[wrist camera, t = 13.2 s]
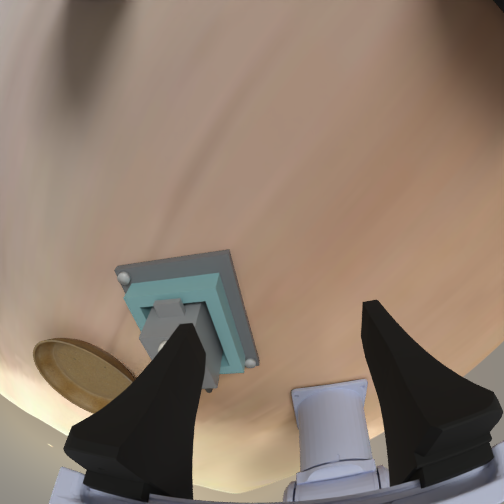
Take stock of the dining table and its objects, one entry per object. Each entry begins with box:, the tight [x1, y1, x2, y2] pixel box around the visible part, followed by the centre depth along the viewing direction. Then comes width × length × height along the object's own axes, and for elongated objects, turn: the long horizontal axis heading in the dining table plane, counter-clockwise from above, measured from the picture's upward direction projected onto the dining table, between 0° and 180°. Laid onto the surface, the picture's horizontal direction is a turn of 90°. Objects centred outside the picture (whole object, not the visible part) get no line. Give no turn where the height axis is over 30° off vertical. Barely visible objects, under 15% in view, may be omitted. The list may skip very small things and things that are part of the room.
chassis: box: [114, 250, 260, 374], centre depth 24 cm, size 12×9×2 cm
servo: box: [139, 298, 223, 393], centre depth 23 cm, size 11×4×5 cm, turn 11°
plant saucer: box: [33, 338, 134, 414], centre depth 30 cm, size 15×15×3 cm
